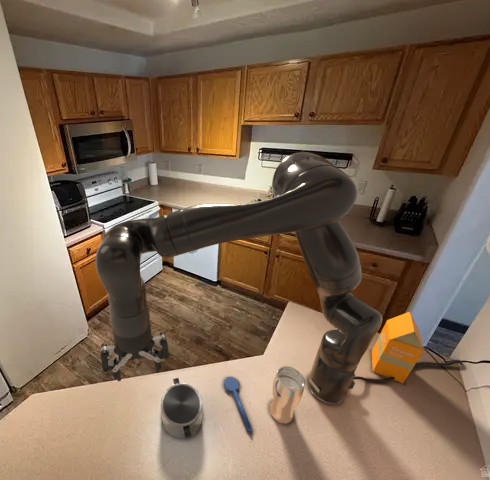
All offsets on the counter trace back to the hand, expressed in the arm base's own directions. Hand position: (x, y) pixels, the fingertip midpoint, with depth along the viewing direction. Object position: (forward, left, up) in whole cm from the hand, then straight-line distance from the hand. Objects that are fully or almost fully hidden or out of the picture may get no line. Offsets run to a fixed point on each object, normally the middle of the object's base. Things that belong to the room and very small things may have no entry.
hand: (138, 373), depth 59 cm
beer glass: (-37, +5, -22) cm, 43 cm away
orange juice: (-77, 0, -22) cm, 80 cm away
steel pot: (-10, 0, -22) cm, 24 cm away
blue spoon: (-26, 0, -22) cm, 34 cm away
